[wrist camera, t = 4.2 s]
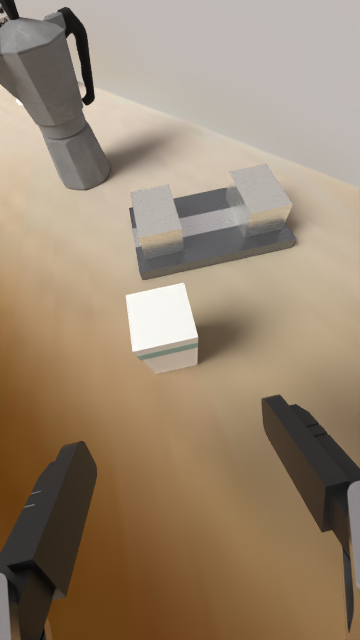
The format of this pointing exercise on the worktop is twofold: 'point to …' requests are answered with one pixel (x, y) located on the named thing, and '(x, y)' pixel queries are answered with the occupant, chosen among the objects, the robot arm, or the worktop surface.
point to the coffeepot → (53, 90)
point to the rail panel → (210, 223)
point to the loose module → (163, 328)
